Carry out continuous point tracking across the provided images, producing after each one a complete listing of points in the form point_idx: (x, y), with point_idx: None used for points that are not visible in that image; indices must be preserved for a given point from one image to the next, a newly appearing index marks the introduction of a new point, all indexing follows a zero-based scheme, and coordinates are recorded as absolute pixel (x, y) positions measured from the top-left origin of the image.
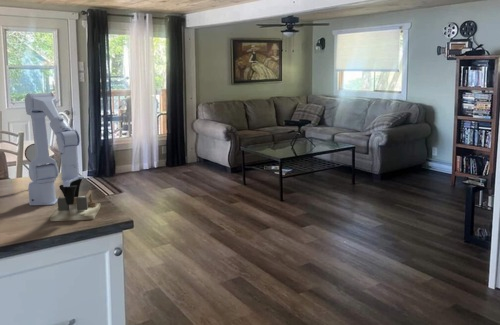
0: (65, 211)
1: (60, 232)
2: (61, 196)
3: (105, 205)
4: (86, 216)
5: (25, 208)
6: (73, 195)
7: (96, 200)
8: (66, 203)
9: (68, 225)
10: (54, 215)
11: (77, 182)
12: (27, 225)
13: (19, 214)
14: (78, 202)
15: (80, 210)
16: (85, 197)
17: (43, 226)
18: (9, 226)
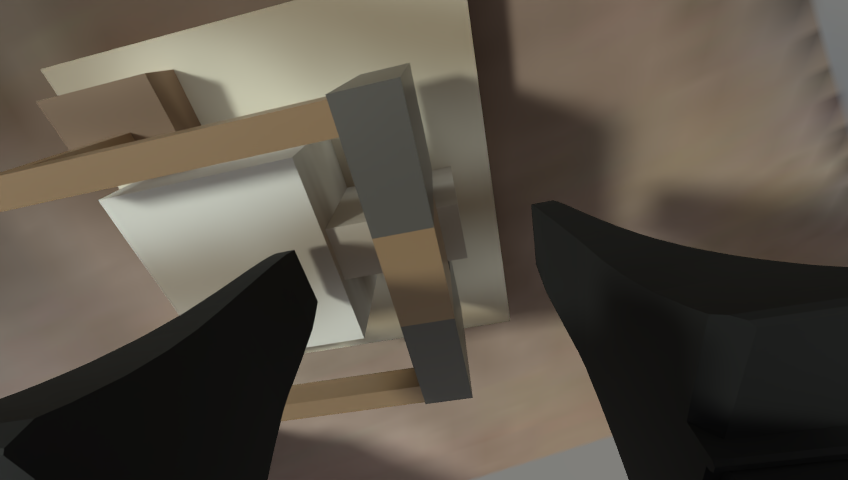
0: (376, 276)
1: (782, 135)
2: (380, 396)
3: (4, 32)
4: (471, 43)
5: (301, 473)
6: (646, 239)
7: (51, 104)
8: (453, 293)
9: (614, 144)
10: (473, 308)
11: (147, 433)
12: (575, 375)
13: (395, 461)
14: (428, 180)
15: (338, 169)
16: (376, 104)
17: None
18: (580, 431)
